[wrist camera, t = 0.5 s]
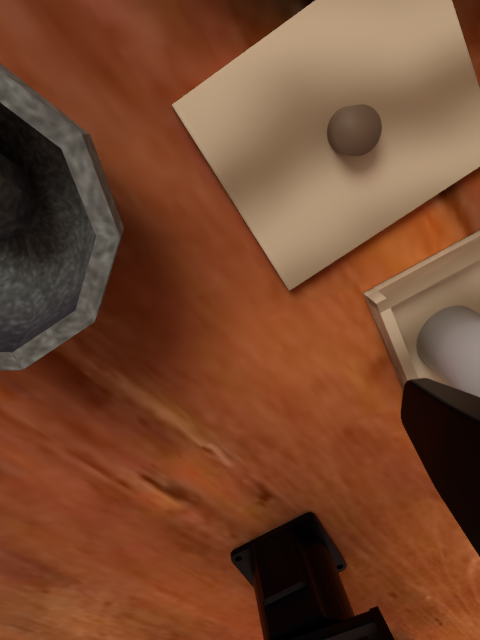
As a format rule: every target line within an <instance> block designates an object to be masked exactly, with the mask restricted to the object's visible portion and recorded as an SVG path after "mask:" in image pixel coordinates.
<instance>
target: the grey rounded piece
mask: <svg viewBox="0 0 480 640" xmlns="http://www.w3.org/2000/svg"><path fill="white" fill-rule="evenodd" d="M416 349H417V353H418V356H419V358H420V359H421V361H422V362H423V363H424V364H425V365H426V366H428V367H429V368H430V369H431V370H432V371H433V372H434V373H435V374H436V375H438V376H439V377H440V378H441V379H442V380H443V381H444V382H445V383H446V384H448V385H449V386H451V387H453V388H456V389H459V390H462V391H464V392H467V393H470V394H473V395H475V396H478V397H480V314H479V313H477V312H476V311H474V310H472V309H470V308H468V307H465V306H451V307H447V308H444V309H442V310H440V311H438V312H437V313H435V314H434V315H433V316H431V317H430V318H429V319H428V320H427V321H426V322H425V324H424V325H423V327H422V328H421V330H420V332H419V334H418V338H417V343H416Z"/></svg>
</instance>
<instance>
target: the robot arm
mask: <svg viewBox="0 0 480 640" xmlns="http://www.w3.org/2000/svg"><path fill="white" fill-rule="evenodd" d="M401 420H402V423H403V426H404V428H405V430H406V432H407V434H408V436H409V438H410V440H411V442H412V444H413V446H414V447H415V449H416V451H417V453H418V455H419V457H420V459H421V461H422V463H423V465H424V467H425V469H426V471H427V473H428V475H429V477H430V479H431V481H432V482H433V484H434V486H435V488H436V489H437V491H438V493H439V494H440V496H441V498H442V499H443V501H444V502H445V504H446V505H447V507H448V508H449V510H450V512H451V513H452V515H453V516H454V518H455V519H456V521H457V522H458V524H459V525H460V527H461V529H462V530H463V532H464V533H465V535H466V536H467V538H468V539H469V541H470V542H471V544H472V546H473V547H474V549H475V550H476V552H477V553H478V555H479V556H480V397H478V396H475V395H473V394H470V393H467V392H464V391H462V390H459V389H456V388H453V387H451V386H448V385H445V384H442V383H439V382H437V381H434V380H431V379H428V378H417V379H410V380H408V381H406V382H405V384H404V389H403V397H402V406H401ZM231 560H232V562H233V564H234V565H235V566H236V567H237V568H238V569H239V571H240V572H241V573H242V574H243V575H244V576H245V578H246V579H247V580H248V581H249V582H250V584H251V585H252V586H253V587H254V590H255V595H256V600H257V606H258V611H259V616H260V622H261V627H262V632H263V638H264V640H394V638H393V636H392V634H391V632H390V630H389V628H388V626H387V624H386V622H385V620H384V618H383V616H382V614H381V612H380V610H379V608H378V606H377V607H374V608H371V609H369V611H368V612H365V613H362V614H359V615H356V616H355V615H354V613H353V610H352V607H351V605H350V602H349V600H348V597H347V594H346V592H345V589H344V587H343V584H342V581H341V579H340V576H339V574H338V573H339V572H341V571H343V570H344V569H345V568H346V566H347V565H346V563H345V560H344V558H343V557H342V555H341V553H340V552H339V550H338V549H337V547H336V546H335V544H334V543H333V541H332V540H331V538H330V536H329V535H328V533H327V532H326V530H325V529H324V527H323V526H322V524H321V523H320V521H319V519H318V518H317V516H316V515H315V514H314V513H312V512H308V513H305V514H303V515H301V516H299V517H297V518H295V519H293V520H292V521H290V522H288V523H286V524H284V525H282V526H280V527H278V528H276V529H274V530H272V531H270V532H268V533H266V534H264V535H262V536H260V537H258V538H256V539H254V540H252V541H250V542H248V543H246V544H244V545H242V546H240V547H238V548H236V549H234V550H233V551H232V552H231Z"/></svg>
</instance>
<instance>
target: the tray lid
mask: <svg viewBox="0 0 480 640" xmlns="http://www.w3.org/2000/svg"><path fill="white" fill-rule="evenodd" d="M172 107H173V108H174V110H175V112H176V113H177V115H178V116H179V118H180V119H181V121H182V123H183V124H184V126H185V127H186V129H187V131H188V132H189V134H190V135H191V137H192V138H193V140H194V142H195V143H196V145H197V146H198V148H199V150H200V151H201V153H202V154H203V156H204V157H205V159H206V161H207V162H208V164H209V165H210V167H211V168H212V170H213V172H214V173H215V175H216V176H217V178H218V180H219V181H220V183H221V184H222V186H223V187H224V189H225V191H226V192H227V194H228V195H229V197H230V199H231V200H232V202H233V203H234V205H235V206H236V208H237V210H238V211H239V213H240V214H241V216H242V217H243V219H244V221H245V222H246V224H247V225H248V227H249V229H250V230H251V232H252V233H253V235H254V236H255V238H256V240H257V241H258V243H259V244H260V246H261V248H262V249H263V251H264V252H265V254H266V255H267V257H268V259H269V260H270V262H271V263H272V265H273V267H274V268H275V270H276V271H277V273H278V274H279V276H280V278H281V279H282V281H283V282H284V284H285V285H286V287H287V288H288V290H289V291H290V290H291V289H293V288H295V287H296V286H298V285H299V284H301V283H302V282H304V281H305V280H307V279H308V278H310V277H311V276H313V275H314V274H316V273H318V272H319V271H321V270H322V269H324V268H325V267H327V266H328V265H330V264H331V263H333V262H334V261H336V260H337V259H339V258H340V257H342V256H344V255H345V254H347V253H348V252H350V251H351V250H353V249H354V248H356V247H357V246H359V245H360V244H362V243H363V242H365V241H367V240H368V239H370V238H371V237H373V236H374V235H376V234H377V233H379V232H380V231H382V230H383V229H385V228H386V227H388V226H389V225H391V224H393V223H394V222H396V221H397V220H399V219H400V218H402V217H403V216H405V215H406V214H408V213H409V212H411V211H412V210H414V209H416V208H417V207H419V206H420V205H422V204H423V203H425V202H426V201H428V200H429V199H431V198H432V197H434V196H435V195H437V194H438V193H440V192H442V191H443V190H445V189H446V188H448V187H449V186H451V185H452V184H454V183H455V182H457V181H458V180H460V179H461V178H463V177H465V176H466V175H468V174H469V173H471V172H472V171H474V170H475V169H477V168H478V167H480V88H479V85H478V82H477V79H476V75H475V72H474V69H473V66H472V63H471V60H470V56H469V53H468V50H467V47H466V44H465V40H464V37H463V34H462V31H461V28H460V25H459V21H458V18H457V15H456V12H455V9H454V5H453V2H452V0H315V1H314V2H313V3H311V4H310V5H308V6H307V7H306V8H304V9H303V10H302V11H300V12H299V13H297V14H296V15H295V16H293V17H292V18H291V19H289V20H288V21H286V22H285V23H284V24H282V25H281V26H280V27H278V28H277V29H275V30H274V31H273V32H271V33H270V34H269V35H267V36H266V37H264V38H263V39H262V40H260V41H259V42H258V43H256V44H255V45H253V46H252V47H251V48H249V49H248V50H247V51H245V52H244V53H242V54H241V55H240V56H238V57H237V58H236V59H234V60H233V61H231V62H230V63H229V64H227V65H226V66H225V67H223V68H222V69H220V70H219V71H218V72H216V73H215V74H214V75H212V76H211V77H210V78H208V79H207V80H205V81H204V82H203V83H201V84H200V85H199V86H197V87H196V88H194V89H193V90H192V91H190V92H189V93H188V94H186V95H185V96H183V97H182V98H181V99H179V100H178V101H177V102H175V103H174V104H172Z"/></svg>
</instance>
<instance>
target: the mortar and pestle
mask: <svg viewBox="0 0 480 640" xmlns="http://www.w3.org/2000/svg"><path fill="white" fill-rule="evenodd" d="M123 231H124V227H123V224H122V221H121V218H120V215H119V212H118V210H117V207H116V204H115V201H114V199H113V196H112V193H111V191H110V188H109V185H108V182H107V180H106V177H105V174H104V171H103V169H102V166H101V163H100V160H99V158H98V155H97V152H96V150H95V147H94V144H93V141H92V139H91V136H90V134H89V133H87V132H86V131H85V130H84V129H82V128H81V127H80V126H79V125H77V124H76V123H75V122H74V121H72V120H71V119H70V118H69V117H67V116H66V115H65V114H63V113H62V112H61V111H60V110H58V109H57V108H56V107H55V106H53V105H52V104H51V103H50V102H48V101H47V100H46V99H45V98H43V97H42V96H41V95H40V94H38V93H37V92H36V91H34V90H33V89H32V88H31V87H29V86H28V85H27V84H26V83H24V82H23V81H22V80H21V79H19V78H18V77H17V76H16V75H14V74H13V73H12V72H10V71H9V70H8V69H7V68H5V67H4V66H3V65H2V64H0V370H23V369H25V368H26V367H28V366H29V365H31V364H32V363H34V362H35V361H37V360H38V359H40V358H41V357H43V356H44V355H46V354H47V353H49V352H50V351H52V350H53V349H55V348H56V347H58V346H59V345H61V344H62V343H64V342H65V341H67V340H68V339H70V338H71V337H73V336H74V335H76V334H77V333H79V332H80V331H82V330H83V329H85V328H86V327H88V326H89V325H91V324H92V323H94V322H95V320H96V317H97V315H98V312H99V310H100V307H101V304H102V300H103V297H104V294H105V290H106V287H107V284H108V280H109V277H110V274H111V270H112V267H113V264H114V261H115V257H116V254H117V251H118V247H119V244H120V241H121V237H122V234H123Z"/></svg>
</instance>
